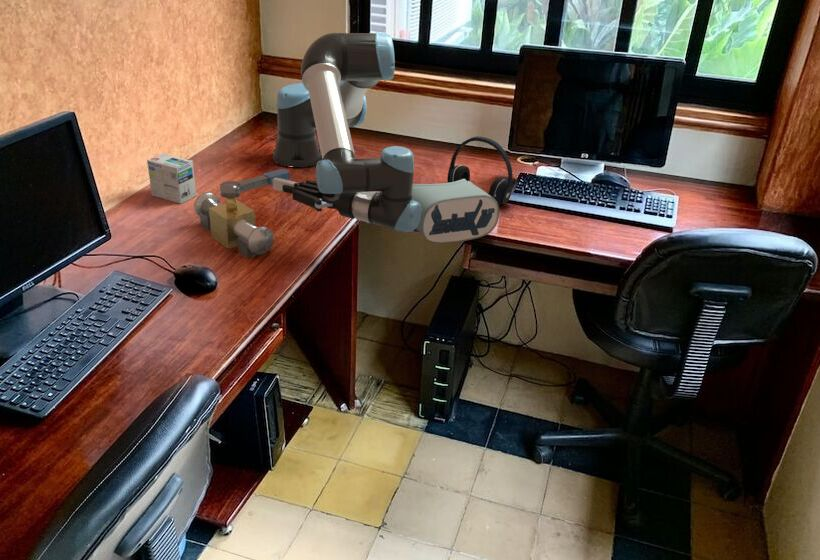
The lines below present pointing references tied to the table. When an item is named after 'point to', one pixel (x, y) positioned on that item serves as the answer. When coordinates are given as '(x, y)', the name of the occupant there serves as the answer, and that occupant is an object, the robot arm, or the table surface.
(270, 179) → the lever
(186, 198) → the light bulb box
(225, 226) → the valve body
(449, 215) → the grey rounded block
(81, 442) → the table surface
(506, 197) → the headphones
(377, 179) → the robot arm
